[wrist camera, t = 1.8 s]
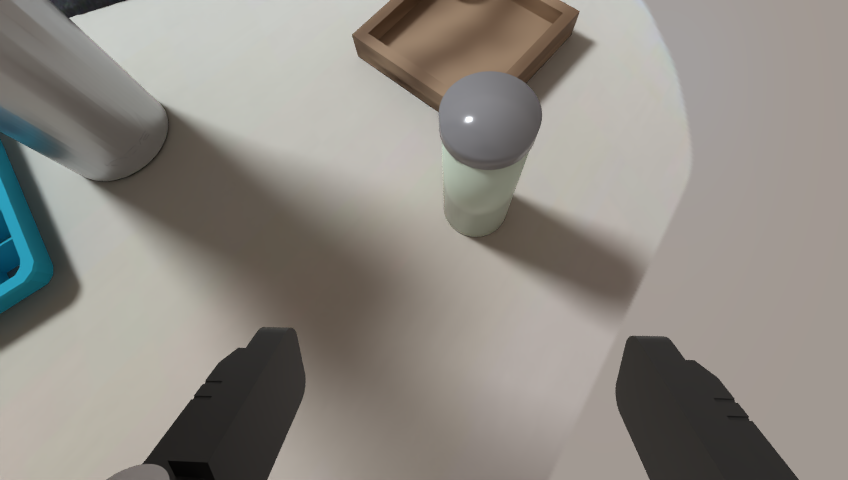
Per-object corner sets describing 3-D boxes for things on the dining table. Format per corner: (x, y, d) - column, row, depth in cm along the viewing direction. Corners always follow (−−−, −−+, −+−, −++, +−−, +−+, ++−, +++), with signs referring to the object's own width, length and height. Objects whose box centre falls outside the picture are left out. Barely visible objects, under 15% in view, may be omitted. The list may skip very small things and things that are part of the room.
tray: (358, 56, 37) (351, 34, 35) (453, -32, 40) (454, -58, 38) (475, 137, 34) (477, 119, 31) (571, 34, 37) (579, 11, 34)
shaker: (429, 211, 32) (417, 119, 20) (470, 166, 33) (481, 55, 21) (480, 251, 31) (499, 177, 19) (521, 203, 32) (562, 106, 20)
